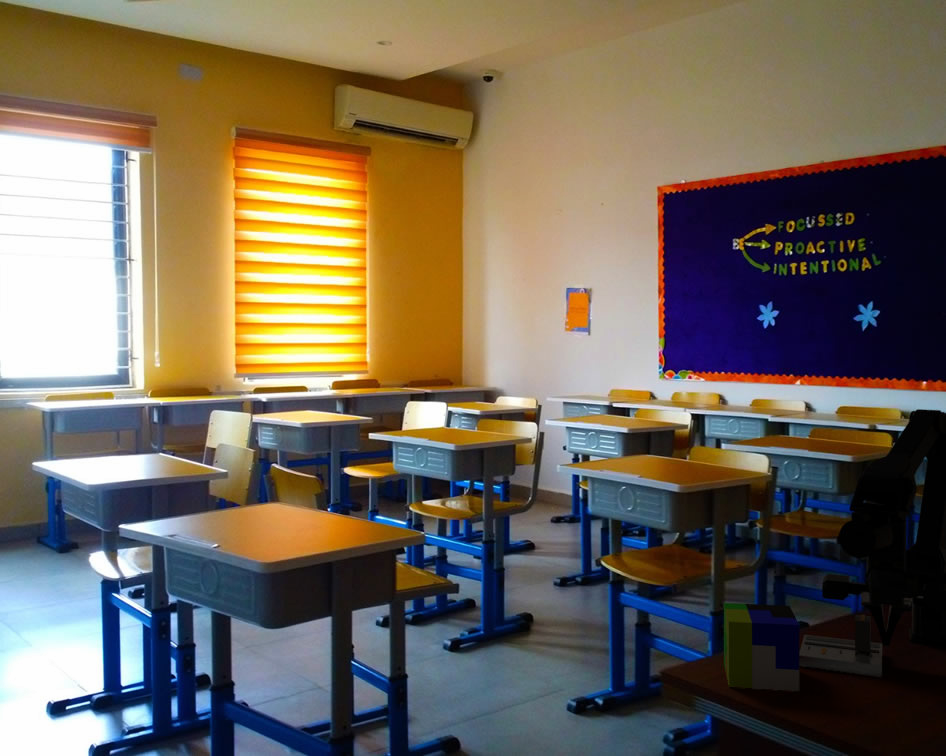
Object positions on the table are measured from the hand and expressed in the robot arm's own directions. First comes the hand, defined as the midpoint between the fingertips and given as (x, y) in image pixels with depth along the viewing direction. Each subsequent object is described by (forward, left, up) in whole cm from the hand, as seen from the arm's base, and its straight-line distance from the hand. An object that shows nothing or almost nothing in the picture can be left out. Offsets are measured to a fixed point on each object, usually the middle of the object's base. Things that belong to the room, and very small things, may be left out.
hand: (886, 645), depth 143 cm
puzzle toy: (+13, -18, -3) cm, 22 cm away
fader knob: (0, -3, -1) cm, 4 cm away
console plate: (+1, -7, -3) cm, 7 cm away
